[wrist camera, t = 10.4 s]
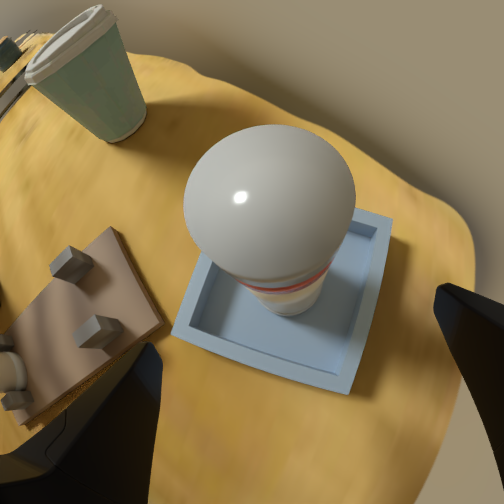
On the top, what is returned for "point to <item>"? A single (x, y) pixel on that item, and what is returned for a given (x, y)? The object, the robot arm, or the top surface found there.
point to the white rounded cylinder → (272, 212)
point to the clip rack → (78, 324)
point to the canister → (8, 53)
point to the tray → (295, 327)
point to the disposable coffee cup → (90, 76)
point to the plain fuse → (12, 372)
